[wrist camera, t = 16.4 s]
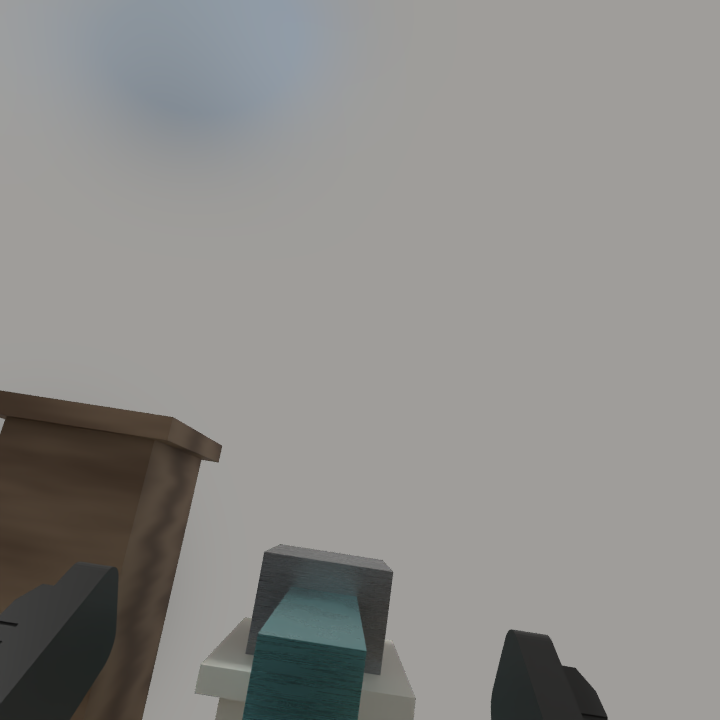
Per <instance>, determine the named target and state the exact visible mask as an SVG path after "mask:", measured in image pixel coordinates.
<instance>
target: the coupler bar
mask: <svg viewBox="0 0 720 720" xmlns="http://www.w3.org/2000/svg"><path fill="white" fill-rule="evenodd" d="M392 577H393V571H392V570H391V569H390V568H389V567H388V566H387V565H386V564H385V562H384V561H383V560H378V559H371V558H365V557H359V556H352V555H346V554H340V553H333V552H327V551H320V550H314V549H308V548H301V547H294V546H288V545H282V544H280V545H278V546H276V547H274V548H271V549H270V550H267V551H265V552H264V557H263V562H262V567H261V573H260V579H259V583H258V589H257V594H256V599H255V605H254V610H253V616H252V621H251V626H250V631H249V637H248V642H247V647H246V653H245V654H249V655H254V658H253V663H252V668H251V674H250V679H249V685H248V690H247V696H246V701H245V707H244V712H243V718H242V720H358V713H359V706H360V698H361V690H362V683H363V675H364V673H369V674H375V675H380V674H381V666H382V658H383V650H384V642H385V634H386V625H387V617H388V610H389V601H390V593H391V585H392Z"/></svg>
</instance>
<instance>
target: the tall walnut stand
mask: <svg viewBox="0 0 720 720" xmlns="http://www.w3.org/2000/svg"><path fill="white" fill-rule="evenodd" d="M0 418H3V419H5V422H4V425H3V427H2V431H1V434H0V614H1V613H2V612H3V611H4V610H5V609H6V608H7V607H8V606H9V605H10V604H11V603H12V602H13V601H14V600H15V599H17V598H19V597H20V596H22V595H24V594H26V593H27V592H29V591H31V590H33V589H34V588H36V587H38V586H40V585H41V584H48V585H55V584H56V583H57V582H58V581H59V580H60V579H61V578H62V576H63V575H64V574H65V573H66V572H67V571H68V570H69V569H70V568H71V567H72V566H73V565H74V564H75V563H77V562H87V563H93V564H99V565H106V566H112V567H116V568H117V569H118V574H119V580H118V603H117V626H116V636H115V640H114V644H113V647H112V650H111V653H110V656H109V658H108V660H107V662H106V664H105V666H104V667H103V669H102V670H101V672H100V674H99V675H98V677H97V678H96V680H95V681H94V683H93V684H92V686H91V688H90V689H89V691H88V692H87V694H86V695H85V697H84V699H83V700H82V702H81V703H80V705H79V706H78V708H77V709H76V711H75V713H74V714H73V716H72V717H71V719H70V720H142V717H143V713H144V708H145V704H146V699H147V695H148V691H149V686H150V682H151V678H152V673H153V669H154V665H155V660H156V656H157V651H158V647H159V642H160V638H161V634H162V630H163V625H164V621H165V616H166V612H167V608H168V603H169V599H170V594H171V590H172V586H173V581H174V577H175V573H176V568H177V564H178V559H179V555H180V551H181V546H182V541H183V538H184V533H185V529H186V524H187V520H188V516H189V511H190V506H191V502H192V498H193V494H194V489H195V485H196V480H197V476H198V472H199V467H200V463H201V460H207V461H213V462H219V458H220V453H221V448H222V445H220V444H218V443H216V442H215V441H213V440H211V439H210V438H208V437H206V436H204V435H203V434H201V433H199V432H198V431H196V430H194V429H192V428H191V427H189V426H187V425H185V424H184V423H182V422H180V421H179V420H177V419H175V418H173V417H168V416H162V415H154V414H149V413H142V412H136V411H129V410H123V409H116V408H110V407H103V406H97V405H90V404H84V403H78V402H71V401H65V400H58V399H51V398H45V397H39V396H32V395H25V394H19V393H12V392H5V391H0Z"/></svg>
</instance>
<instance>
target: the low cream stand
mask: <svg viewBox="0 0 720 720" xmlns="http://www.w3.org/2000/svg"><path fill="white" fill-rule="evenodd" d="M251 621H252V618H244V619H243V620H242V621H241V622H240V624H238V626H237V627H236V628H235V629H234V630H233V631H232V632H231V633H230V634H229V635H228V636H227V637H226V638H225V639H224V640H223V641H222V642H221V643H220V645H219V646H218V647H217V648H216V649H215V650H214V651H213V652H212V653H211V654H210V655H209V656H208V657H207V658H206V659H205V660H204V661H203V663H201V666H200V670H199V675H198V680H197V684H196V689H195V694H201V695H208V696H214V697H220V698H219V703H218V708H217V714H216V719H215V720H242V718H243V712H244V707H245V701H246V696H247V690H248V685H249V679H250V674H251V668H252V663H253V658H254V655H249V654H245V653H246V647H247V642H248V637H249V631H250V626H251ZM415 700H416V698H415V696H414V693H413V691H412V688H411V686H410V683H409V681H408V678H407V676H406V673H405V671H404V668H403V666H402V663H401V661H400V659H399V656H398V654H397V651H396V649H395V646H394V644H393V641H390V640H385V642H384V650H383V658H382V666H381V674H380V675H375V674H369V673H364V675H363V683H362V690H361V698H360V706H359V713H358V720H413V718H414V709H415Z"/></svg>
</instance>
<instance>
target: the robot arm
mask: <svg viewBox="0 0 720 720" xmlns="http://www.w3.org/2000/svg"><path fill="white" fill-rule="evenodd" d="M118 580H119V574H118V569H117V568H116V567H112V566H106V565H99V564H93V563H87V562H77V563H75V564H74V565H73V566H72V567H71V568H70V569H69V570H68V571H67V572H66V573H65V574H64V575H63V576H62V578H61V579H60V580H59V581H58V582H57V583H56V584H55V585H48V584H41V585H40V586H38V587H36V588H34V589H33V590H31V591H29V592H27V593H26V594H24V595H22V596H20V597H19V598H17V599H15V600H14V601H13V602H12V603H11V604H10V605H9V606H8V607H7V608H6V609H5V610H4V611H3V612H2V613H1V614H0V720H70V719H71V717H72V716H73V714H74V713H75V711H76V709H77V708H78V706H79V705H80V703H81V702H82V700H83V699H84V697H85V695H86V694H87V692H88V691H89V689H90V688H91V686H92V684H93V683H94V681H95V680H96V678H97V677H98V675H99V674H100V672H101V670H102V669H103V667H104V666H105V664H106V662H107V660H108V658H109V656H110V653H111V650H112V647H113V644H114V640H115V636H116V626H117V603H118ZM491 720H607V715H606V713H605V710H604V708H603V706H602V704H601V702H600V699H599V697H598V695H597V693H596V691H595V690H594V689H593V688H592V687H591V685H590V684H589V683H588V682H587V681H586V680H585V679H584V677H583V676H582V675H581V674H580V673H579V672H578V671H577V669H576V668H573V667H567V666H562V665H561V663H560V660H559V658H558V655H557V653H556V650H555V648H554V646H553V643H552V641H551V639H550V638H549V636H548V635H543V634H537V633H530V632H524V631H518V630H509V631H508V633H507V635H506V638H505V642H504V646H503V650H502V654H501V658H500V662H499V666H498V671H497V674H496V679H495V683H494V687H493V691H492V699H491Z"/></svg>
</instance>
